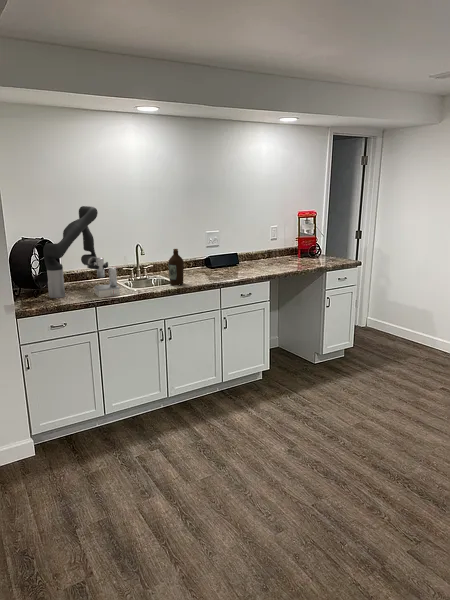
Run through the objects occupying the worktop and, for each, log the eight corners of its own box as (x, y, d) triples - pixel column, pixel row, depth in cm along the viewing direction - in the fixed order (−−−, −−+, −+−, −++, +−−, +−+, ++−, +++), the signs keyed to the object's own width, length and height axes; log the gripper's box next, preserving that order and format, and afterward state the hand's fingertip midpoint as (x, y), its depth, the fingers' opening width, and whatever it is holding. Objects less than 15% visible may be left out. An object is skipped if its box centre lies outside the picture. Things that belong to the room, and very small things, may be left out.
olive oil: (176, 282, 327) (175, 247, 321) (187, 284, 321) (186, 248, 314) (165, 284, 318) (164, 249, 312) (177, 286, 312) (176, 250, 306)
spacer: (98, 277, 287) (96, 258, 284) (96, 276, 291) (95, 257, 288) (105, 277, 289) (104, 258, 286) (103, 275, 293) (102, 257, 290)
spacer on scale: (110, 287, 286) (109, 269, 283) (108, 286, 290) (107, 268, 287) (118, 287, 288) (116, 268, 285) (116, 285, 292) (114, 267, 289)
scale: (99, 297, 282) (99, 289, 281) (94, 293, 293) (94, 285, 292) (120, 295, 288) (119, 287, 287) (114, 291, 299) (114, 283, 298)
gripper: (83, 258, 296) (89, 262, 281) (105, 256, 303) (112, 260, 288) (84, 269, 298) (90, 274, 283) (106, 267, 304) (113, 272, 290)
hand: (101, 267), depth 286 cm, fingers closed on spacer, 4 cm apart
